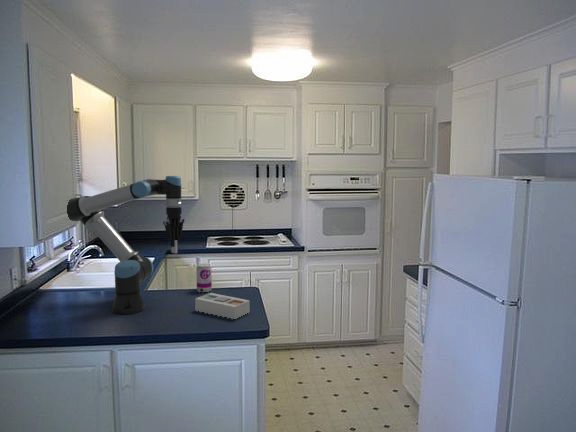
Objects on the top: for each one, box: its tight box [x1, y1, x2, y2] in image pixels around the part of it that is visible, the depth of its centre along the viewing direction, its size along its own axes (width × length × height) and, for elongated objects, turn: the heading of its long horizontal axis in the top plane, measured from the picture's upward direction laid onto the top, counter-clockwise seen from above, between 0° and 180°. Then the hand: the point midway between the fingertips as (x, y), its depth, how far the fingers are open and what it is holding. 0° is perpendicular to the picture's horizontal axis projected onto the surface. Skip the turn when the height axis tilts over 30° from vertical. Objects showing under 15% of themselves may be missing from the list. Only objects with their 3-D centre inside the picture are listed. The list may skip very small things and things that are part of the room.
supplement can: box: [196, 263, 213, 293], centre depth 270 cm, size 8×8×15 cm
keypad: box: [194, 292, 251, 320], centre depth 235 cm, size 12×24×6 cm, turn 59°
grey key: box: [214, 297, 230, 303], centre depth 235 cm, size 6×6×4 cm
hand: (174, 252), depth 245 cm, fingers closed
